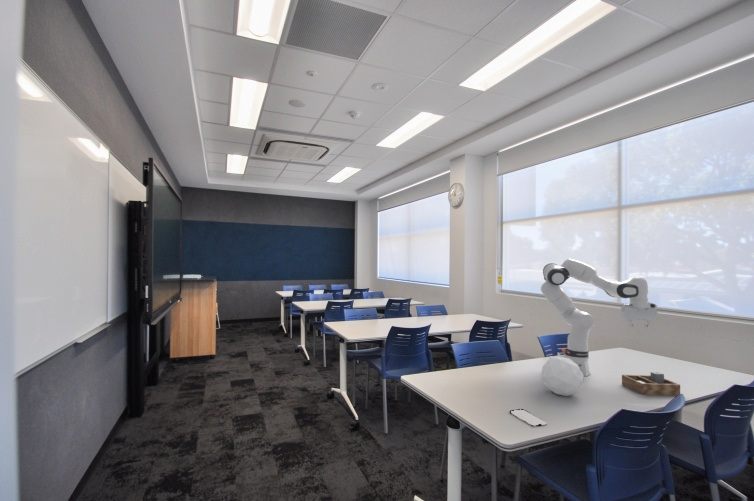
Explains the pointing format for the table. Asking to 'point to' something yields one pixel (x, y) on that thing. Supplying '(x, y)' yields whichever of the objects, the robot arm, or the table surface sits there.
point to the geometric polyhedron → (562, 376)
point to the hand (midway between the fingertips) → (638, 327)
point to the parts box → (650, 385)
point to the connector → (657, 377)
